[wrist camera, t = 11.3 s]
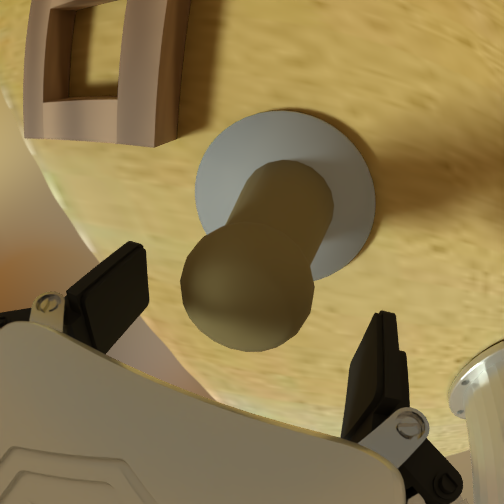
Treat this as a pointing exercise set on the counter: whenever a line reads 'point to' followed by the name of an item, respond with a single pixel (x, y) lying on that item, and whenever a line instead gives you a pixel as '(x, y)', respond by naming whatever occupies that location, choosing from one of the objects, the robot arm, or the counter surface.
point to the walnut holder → (130, 75)
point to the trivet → (294, 149)
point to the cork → (260, 260)
